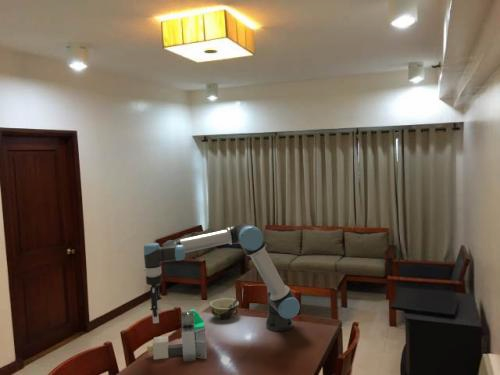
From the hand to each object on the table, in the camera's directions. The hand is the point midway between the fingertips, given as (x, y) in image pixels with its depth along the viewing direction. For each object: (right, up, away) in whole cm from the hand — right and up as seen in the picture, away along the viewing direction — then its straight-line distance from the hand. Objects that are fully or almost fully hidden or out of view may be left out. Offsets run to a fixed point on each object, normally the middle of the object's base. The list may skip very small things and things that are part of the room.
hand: (157, 317), depth 207 cm
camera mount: (+13, -17, +33) cm, 40 cm away
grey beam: (+9, -19, +2) cm, 21 cm away
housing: (+18, -18, +3) cm, 26 cm away
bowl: (+31, -15, +48) cm, 59 cm away
